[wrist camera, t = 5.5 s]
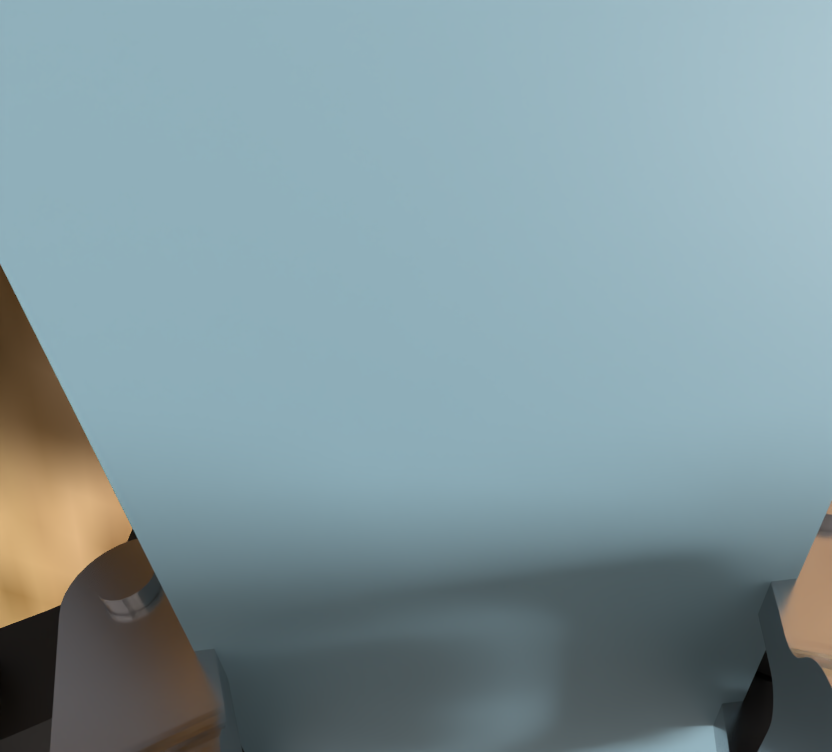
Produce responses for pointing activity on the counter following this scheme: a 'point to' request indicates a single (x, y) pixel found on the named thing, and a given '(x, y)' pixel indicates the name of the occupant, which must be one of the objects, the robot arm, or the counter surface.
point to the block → (441, 343)
